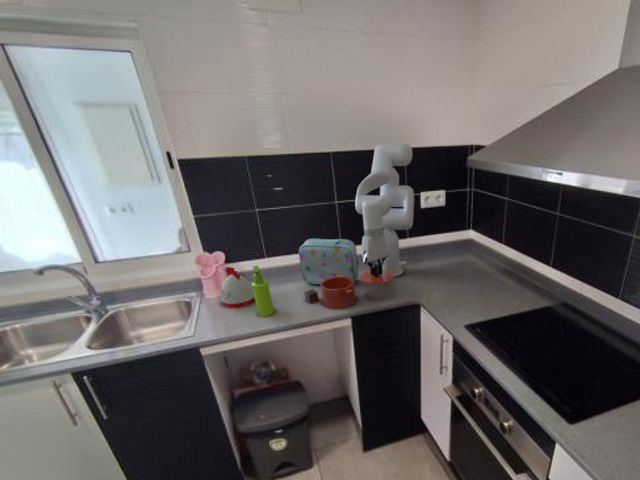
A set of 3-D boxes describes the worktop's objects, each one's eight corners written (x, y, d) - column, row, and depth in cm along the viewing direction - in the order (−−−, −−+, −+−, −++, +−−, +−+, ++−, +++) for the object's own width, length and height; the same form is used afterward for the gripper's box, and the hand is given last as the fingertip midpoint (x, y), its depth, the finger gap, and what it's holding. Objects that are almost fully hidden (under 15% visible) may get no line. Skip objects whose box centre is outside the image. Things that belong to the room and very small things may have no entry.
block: (314, 297, 166) (312, 289, 164) (318, 300, 163) (317, 292, 161) (305, 300, 163) (304, 292, 161) (310, 303, 161) (309, 295, 159)
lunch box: (363, 279, 183) (359, 235, 173) (358, 287, 174) (353, 242, 164) (309, 277, 186) (302, 234, 175) (302, 286, 177) (294, 241, 166)
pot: (340, 289, 173) (338, 272, 169) (365, 303, 161) (364, 284, 156) (314, 299, 164) (311, 281, 160) (338, 314, 152) (336, 295, 148)
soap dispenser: (260, 318, 150) (248, 271, 140) (258, 311, 155) (246, 265, 146) (275, 315, 152) (265, 268, 143) (272, 308, 158) (262, 262, 148)
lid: (379, 269, 170) (378, 255, 167) (401, 278, 160) (400, 263, 157) (352, 278, 161) (351, 263, 158) (374, 288, 152) (372, 273, 148)
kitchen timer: (243, 290, 173) (234, 259, 166) (263, 297, 167) (256, 265, 160) (215, 302, 162) (205, 270, 155) (236, 310, 156) (227, 276, 149)
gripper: (383, 226, 158) (385, 267, 167) (351, 234, 149) (355, 277, 157) (395, 229, 154) (397, 272, 162) (363, 238, 144) (366, 282, 153)
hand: (376, 274), depth 160 cm, fingers closed on lid, 2 cm apart
